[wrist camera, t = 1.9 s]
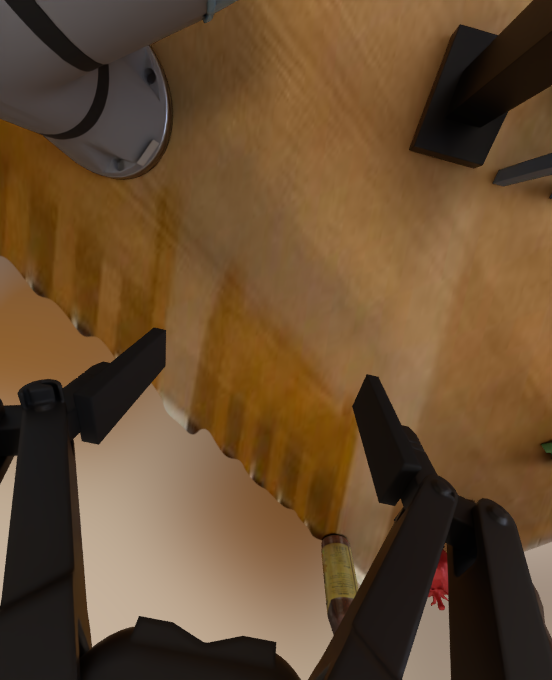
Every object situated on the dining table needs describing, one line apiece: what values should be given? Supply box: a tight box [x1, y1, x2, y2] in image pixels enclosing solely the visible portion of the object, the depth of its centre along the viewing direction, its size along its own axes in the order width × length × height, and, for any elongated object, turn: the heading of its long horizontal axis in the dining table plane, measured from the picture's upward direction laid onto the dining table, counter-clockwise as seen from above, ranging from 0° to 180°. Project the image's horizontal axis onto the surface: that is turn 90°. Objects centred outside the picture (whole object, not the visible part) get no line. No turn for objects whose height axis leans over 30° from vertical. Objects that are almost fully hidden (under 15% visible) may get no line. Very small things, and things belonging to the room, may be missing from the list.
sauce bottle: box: [322, 535, 358, 634], centre depth 48 cm, size 7×6×20 cm
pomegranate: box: [428, 550, 449, 610], centre depth 51 cm, size 10×10×9 cm
